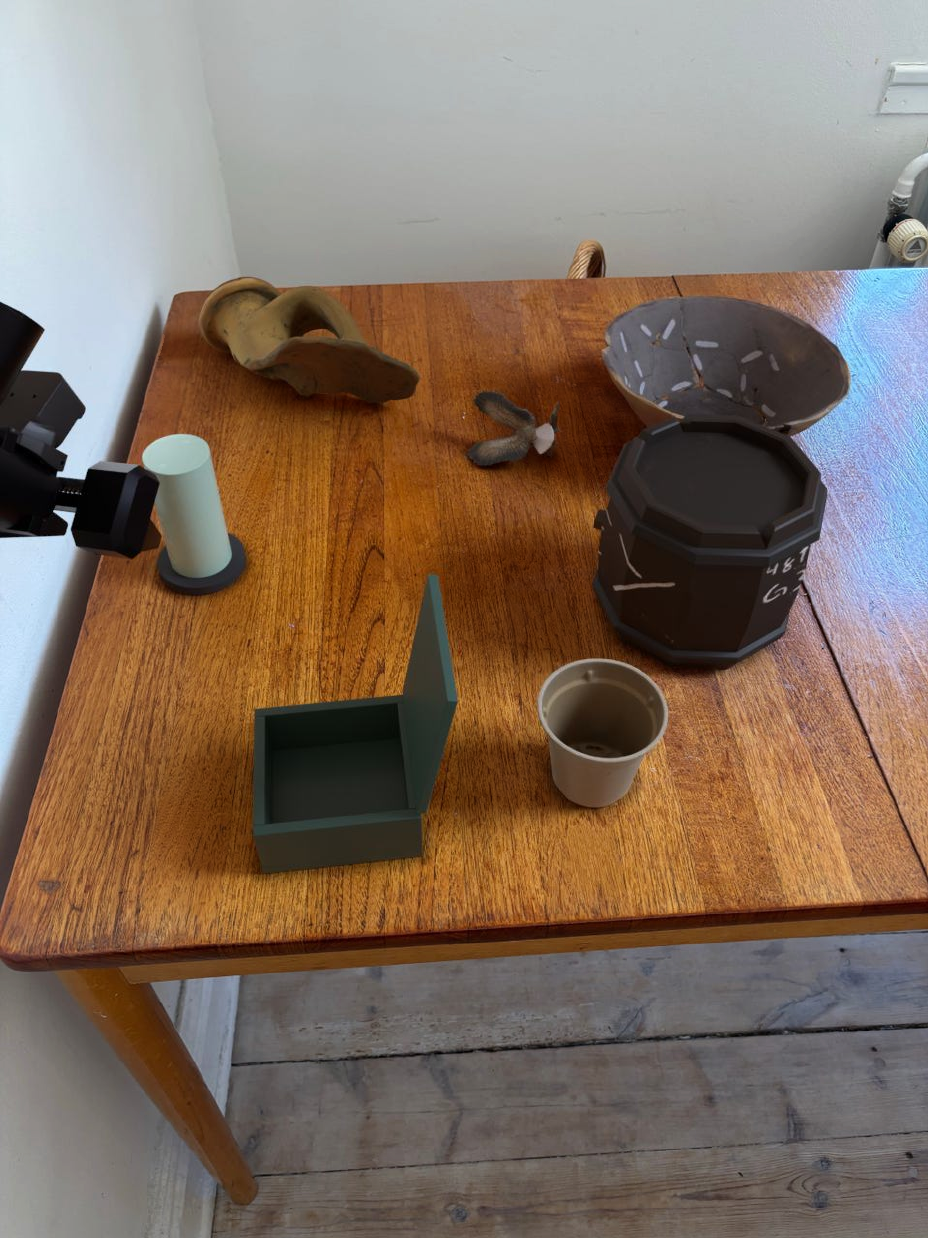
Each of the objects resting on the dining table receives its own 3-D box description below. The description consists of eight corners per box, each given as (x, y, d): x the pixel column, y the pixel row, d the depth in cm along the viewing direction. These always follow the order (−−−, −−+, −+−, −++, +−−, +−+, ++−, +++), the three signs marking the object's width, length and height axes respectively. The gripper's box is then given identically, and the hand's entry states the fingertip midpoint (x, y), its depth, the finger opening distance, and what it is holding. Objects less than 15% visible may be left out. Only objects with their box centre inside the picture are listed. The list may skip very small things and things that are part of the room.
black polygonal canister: (611, 520, 100) (633, 384, 88) (795, 564, 96) (843, 428, 84) (560, 647, 88) (577, 510, 77) (768, 704, 84) (818, 568, 73)
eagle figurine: (550, 415, 110) (469, 402, 108) (568, 390, 103) (482, 376, 101) (544, 482, 108) (462, 470, 107) (563, 461, 101) (475, 448, 100)
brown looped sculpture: (235, 412, 99) (168, 278, 109) (282, 485, 110) (217, 357, 121) (401, 323, 100) (318, 199, 110) (431, 405, 111) (353, 285, 122)
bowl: (861, 497, 102) (893, 415, 95) (626, 520, 100) (640, 438, 92) (772, 361, 119) (793, 283, 112) (568, 377, 117) (577, 298, 109)
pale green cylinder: (214, 584, 92) (189, 480, 83) (159, 570, 93) (129, 466, 84) (242, 544, 95) (221, 441, 86) (189, 531, 96) (163, 428, 88)
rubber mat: (167, 604, 91) (164, 596, 90) (153, 547, 96) (151, 539, 96) (254, 583, 93) (252, 575, 92) (236, 528, 98) (235, 520, 98)
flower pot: (550, 839, 75) (559, 772, 69) (516, 739, 81) (522, 669, 75) (668, 814, 77) (688, 747, 70) (626, 718, 83) (641, 648, 77)
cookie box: (263, 874, 73) (252, 835, 69) (263, 749, 80) (254, 708, 76) (423, 856, 74) (421, 817, 70) (408, 735, 81) (406, 693, 78)
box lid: (447, 701, 61) (458, 701, 61) (427, 573, 68) (437, 574, 69) (416, 814, 70) (426, 814, 70) (402, 690, 77) (411, 690, 77)
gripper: (103, 352, 63) (236, 448, 77) (-112, 341, 70) (47, 431, 84) (54, 522, 61) (199, 587, 75) (-162, 493, 68) (9, 559, 82)
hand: (111, 535), depth 79 cm, fingers open, 9 cm apart
